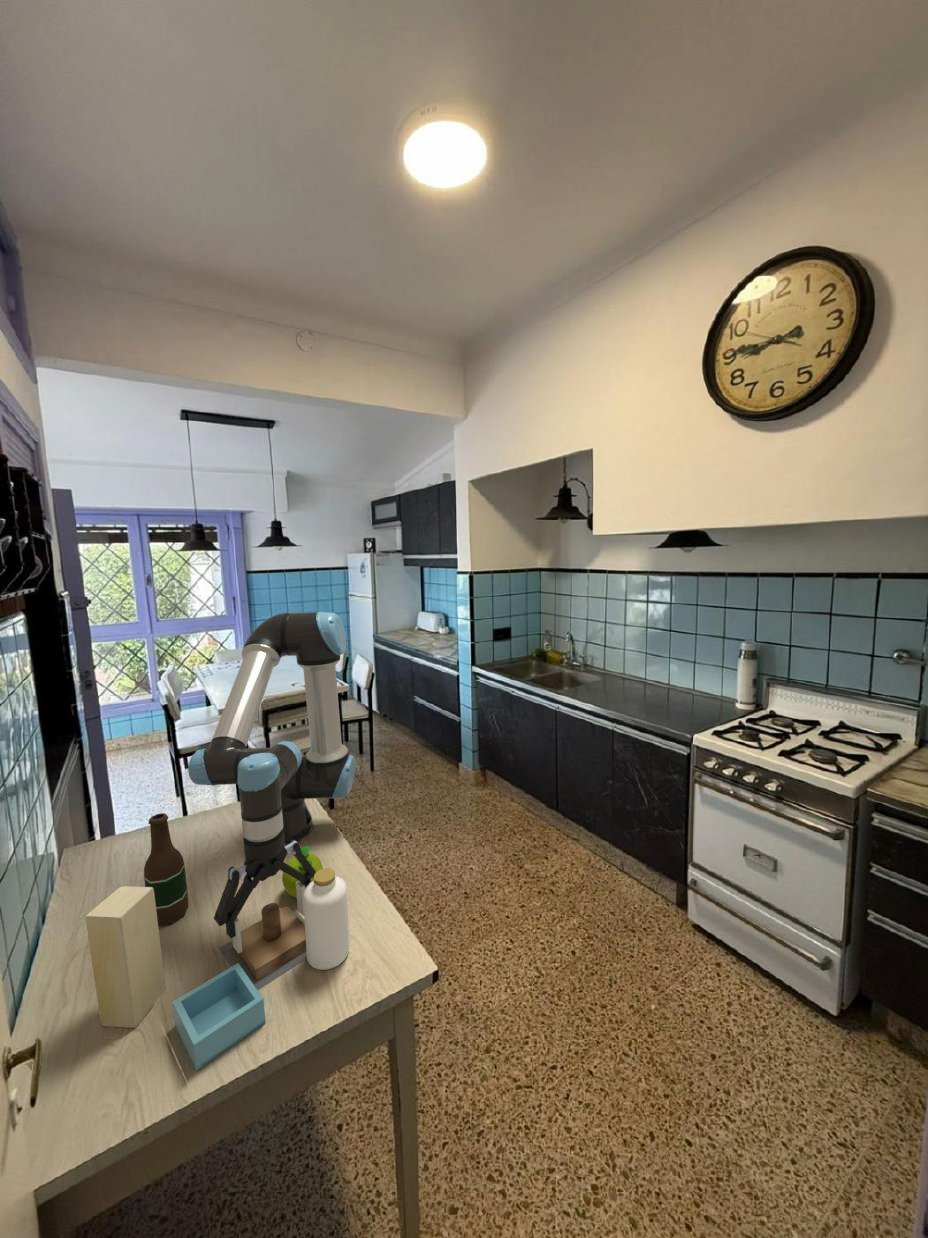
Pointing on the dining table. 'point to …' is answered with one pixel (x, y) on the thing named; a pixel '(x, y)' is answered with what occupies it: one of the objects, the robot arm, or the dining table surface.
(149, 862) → the beer bottle
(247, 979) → the dish
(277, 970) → the mat
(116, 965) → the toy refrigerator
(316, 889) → the potion bottle
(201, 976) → the dining table surface
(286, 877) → the fruit
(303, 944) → the lid cover
